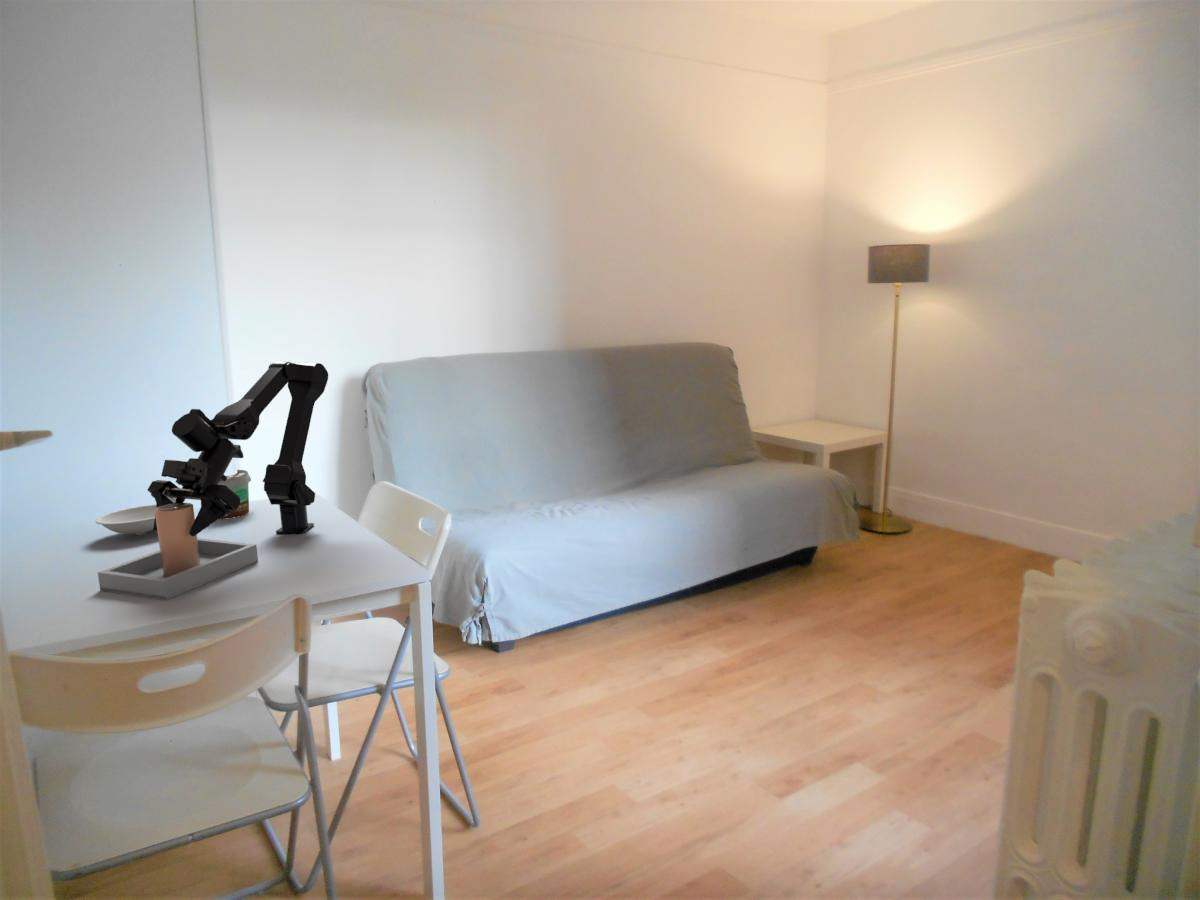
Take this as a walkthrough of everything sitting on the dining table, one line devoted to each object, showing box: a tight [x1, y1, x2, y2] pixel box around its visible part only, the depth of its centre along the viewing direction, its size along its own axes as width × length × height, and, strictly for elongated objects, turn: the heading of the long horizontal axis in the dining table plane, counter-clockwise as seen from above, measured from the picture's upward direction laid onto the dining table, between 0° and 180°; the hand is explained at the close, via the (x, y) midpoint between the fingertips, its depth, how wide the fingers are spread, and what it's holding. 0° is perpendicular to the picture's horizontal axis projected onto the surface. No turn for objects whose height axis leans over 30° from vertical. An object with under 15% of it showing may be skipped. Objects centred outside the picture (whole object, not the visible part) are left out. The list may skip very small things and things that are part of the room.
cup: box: [155, 502, 200, 577], centre depth 161 cm, size 7×7×13 cm
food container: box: [218, 469, 252, 520], centre depth 205 cm, size 12×6×10 cm, turn 168°
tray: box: [97, 537, 259, 601], centre depth 162 cm, size 22×16×4 cm
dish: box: [95, 503, 156, 536], centre depth 191 cm, size 18×14×5 cm
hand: (173, 533), depth 160 cm, fingers open, 9 cm apart
